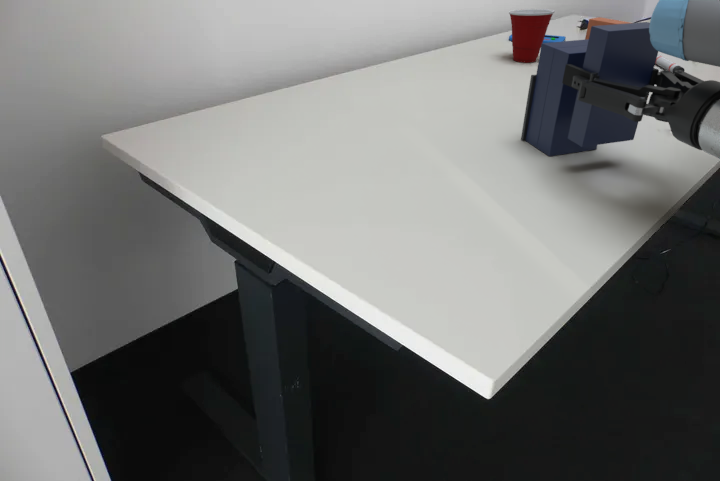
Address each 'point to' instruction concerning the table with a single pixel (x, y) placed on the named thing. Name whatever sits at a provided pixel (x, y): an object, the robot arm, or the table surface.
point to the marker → (668, 64)
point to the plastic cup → (528, 32)
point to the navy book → (613, 80)
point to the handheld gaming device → (548, 38)
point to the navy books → (553, 99)
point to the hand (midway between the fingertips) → (594, 70)
